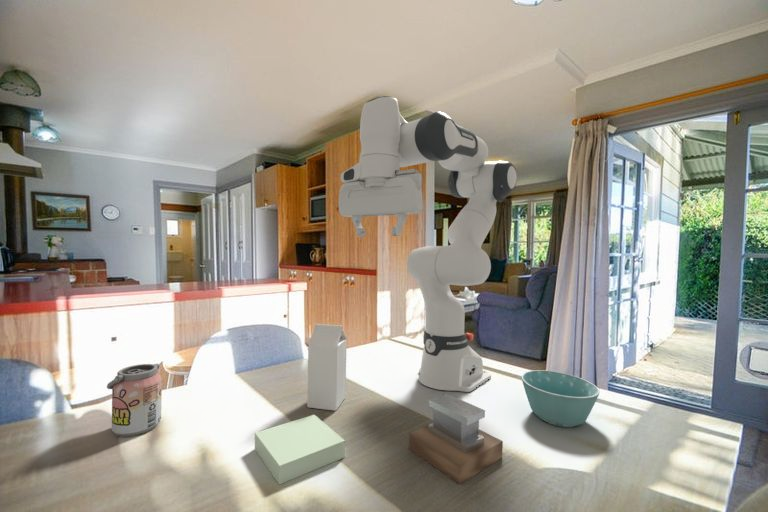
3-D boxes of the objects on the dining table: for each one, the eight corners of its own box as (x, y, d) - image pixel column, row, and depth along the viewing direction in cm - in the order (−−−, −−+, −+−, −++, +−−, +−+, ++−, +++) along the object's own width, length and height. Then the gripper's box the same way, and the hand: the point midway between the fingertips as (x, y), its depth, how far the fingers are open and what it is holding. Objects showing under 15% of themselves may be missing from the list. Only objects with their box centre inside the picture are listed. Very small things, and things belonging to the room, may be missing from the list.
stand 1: (313, 428, 70) (314, 414, 70) (344, 457, 61) (345, 440, 61) (254, 448, 63) (254, 432, 63) (279, 484, 53) (279, 465, 53)
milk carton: (335, 411, 78) (337, 329, 78) (307, 408, 79) (308, 327, 79) (345, 398, 85) (347, 322, 85) (318, 395, 86) (320, 321, 86)
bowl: (605, 418, 78) (606, 382, 78) (588, 445, 66) (590, 403, 66) (534, 397, 88) (535, 365, 88) (509, 417, 77) (510, 381, 77)
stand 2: (451, 429, 71) (451, 415, 71) (502, 457, 62) (502, 441, 62) (408, 449, 64) (409, 433, 64) (459, 484, 54) (460, 465, 54)
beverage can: (97, 432, 67) (97, 372, 67) (140, 413, 75) (141, 359, 75) (129, 442, 64) (129, 379, 64) (170, 421, 72) (171, 365, 71)
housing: (445, 423, 68) (446, 393, 68) (484, 443, 61) (484, 410, 61) (428, 430, 65) (428, 399, 64) (466, 453, 57) (467, 418, 57)
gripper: (428, 170, 71) (427, 236, 71) (352, 180, 82) (351, 237, 82) (414, 163, 66) (413, 235, 66) (334, 174, 77) (333, 235, 77)
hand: (378, 236), depth 74 cm, fingers open, 8 cm apart
